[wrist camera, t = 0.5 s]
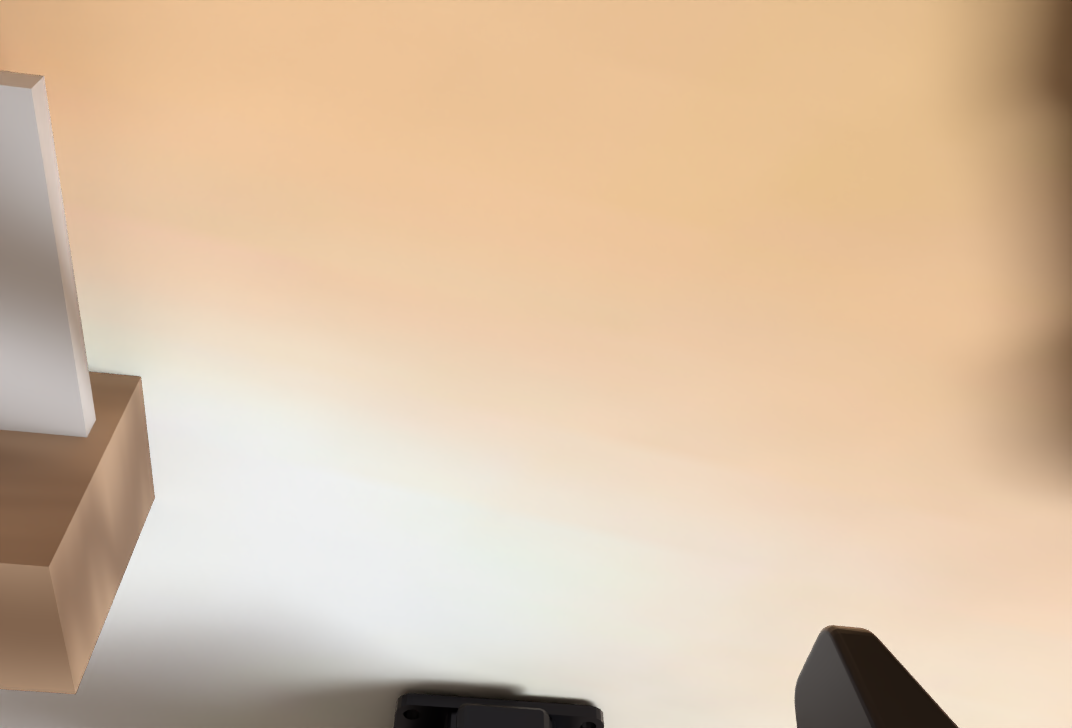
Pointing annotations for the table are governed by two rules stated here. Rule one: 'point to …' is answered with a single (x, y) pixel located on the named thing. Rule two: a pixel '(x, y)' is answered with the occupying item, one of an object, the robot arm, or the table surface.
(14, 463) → the brown grey l-shaped block
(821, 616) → the table surface
